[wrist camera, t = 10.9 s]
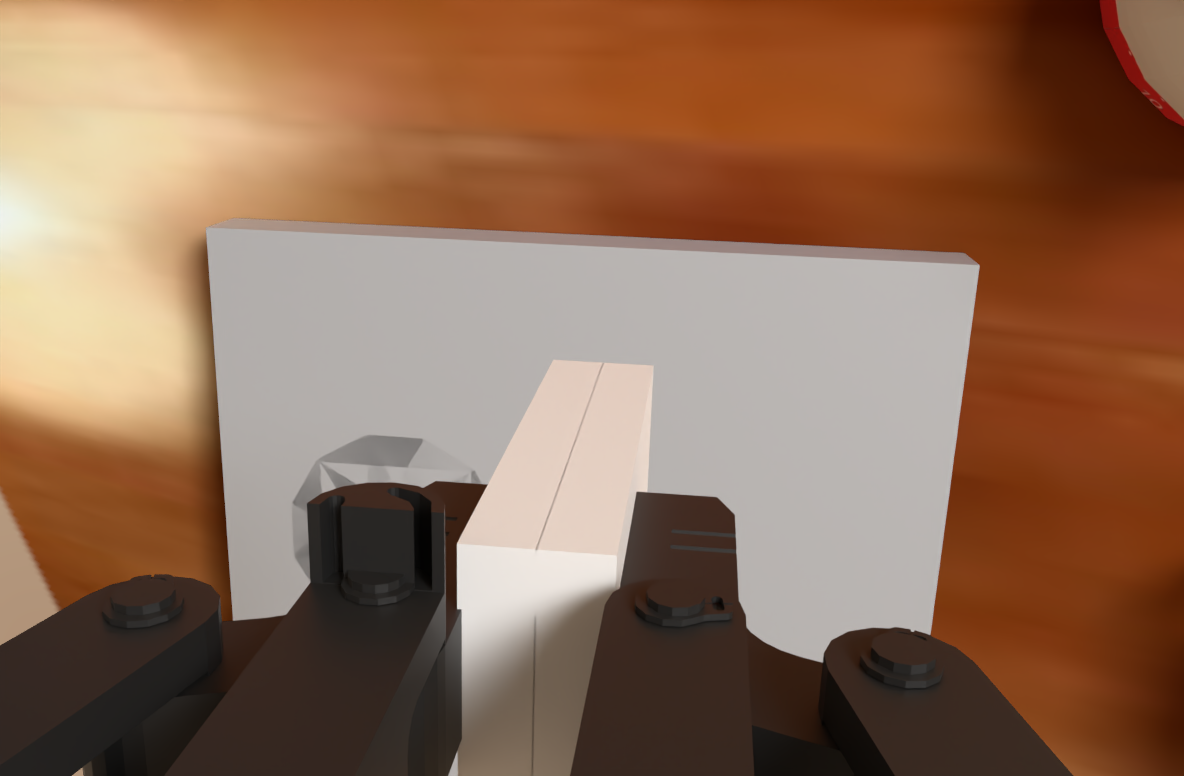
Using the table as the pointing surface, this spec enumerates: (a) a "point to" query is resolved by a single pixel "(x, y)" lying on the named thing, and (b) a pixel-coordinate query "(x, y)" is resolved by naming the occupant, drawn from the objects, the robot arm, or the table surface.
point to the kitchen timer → (1150, 49)
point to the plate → (608, 335)
